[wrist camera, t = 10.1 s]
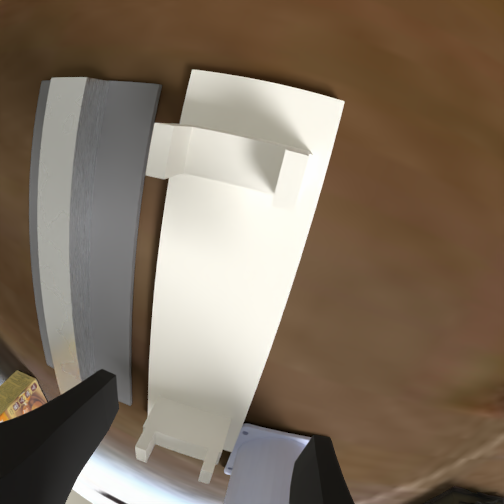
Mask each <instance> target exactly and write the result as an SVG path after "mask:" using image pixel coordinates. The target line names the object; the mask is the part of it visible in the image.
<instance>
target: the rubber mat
mask: <svg viewBox="0 0 504 504" xmlns="http://www.w3.org/2000/svg"><path fill="white" fill-rule="evenodd" d="M50 82H51V80H47V81H42V82H41V87H40V92H39V98H38V104H37V110H36V117H35V124H34V132H33V142H32V152H31V165H30V185H29V233H30V253H31V266H32V277H33V286H34V295H35V302H36V309H37V316H38V322H39V328H40V333H41V339H42V344H43V348H44V353H45V358H46V362H47V365H49V366H50V367H52V368H54V365H53V360H52V355H51V350H50V345H49V340H48V334H47V328H46V322H45V315H44V308H43V300H42V291H41V282H40V270H39V256H38V231H37V199H38V175H39V160H40V149H41V139H42V131H43V123H44V116H45V110H46V103H47V98H48V92H49V87H50ZM161 88H162V85H160V84H151V83H139V82H125V81H110V84H109V89H108V93H107V98H106V103H105V108H104V114H103V120H102V125H101V132H100V138H99V145H98V152H97V160H96V168H95V178H94V188H93V200H92V214H91V233H90V305H91V325H92V339H93V351H94V361H95V370H96V372H97V371H98V370H100V369H104V370H106V371H108V372H111V373H113V374H115V375H116V378H117V392H118V401H120V402H122V403H125V404H127V405H129V406H131V404H132V379H131V333H132V303H133V284H134V269H135V256H136V245H137V235H138V225H139V216H140V208H141V200H142V193H143V185H144V179H145V172H146V166H147V159H148V153H149V148H150V142H151V137H152V131H153V126H154V121H155V116H156V111H157V106H158V102H159V97H160V93H161Z"/></svg>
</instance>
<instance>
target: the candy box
mask: <svg viewBox="0 0 504 504" xmlns="http://www.w3.org/2000/svg"><path fill="white" fill-rule="evenodd" d="M45 403H47V400H46V398H45V396H44V394H43V392H42V390H41V388H40V386H39V383H38V381H37V379H36V378H34V377H32V376H29V375H27V374H25V373H23V372H20V371H18V370H17V371H15V372H14V373H13V374H12V375H11V376H10V377H9V378H8V379H7V380H6V381H5V382H4V383H3V384H2V385H1V386H0V423H1V422H4V421H7V420H10V419H13V418H15V417H18V416H20V415H23V414H25V413H27V412H30V411H32V410H34V409H36V408H38V407H40V406H42V405H44V404H45Z"/></svg>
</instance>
